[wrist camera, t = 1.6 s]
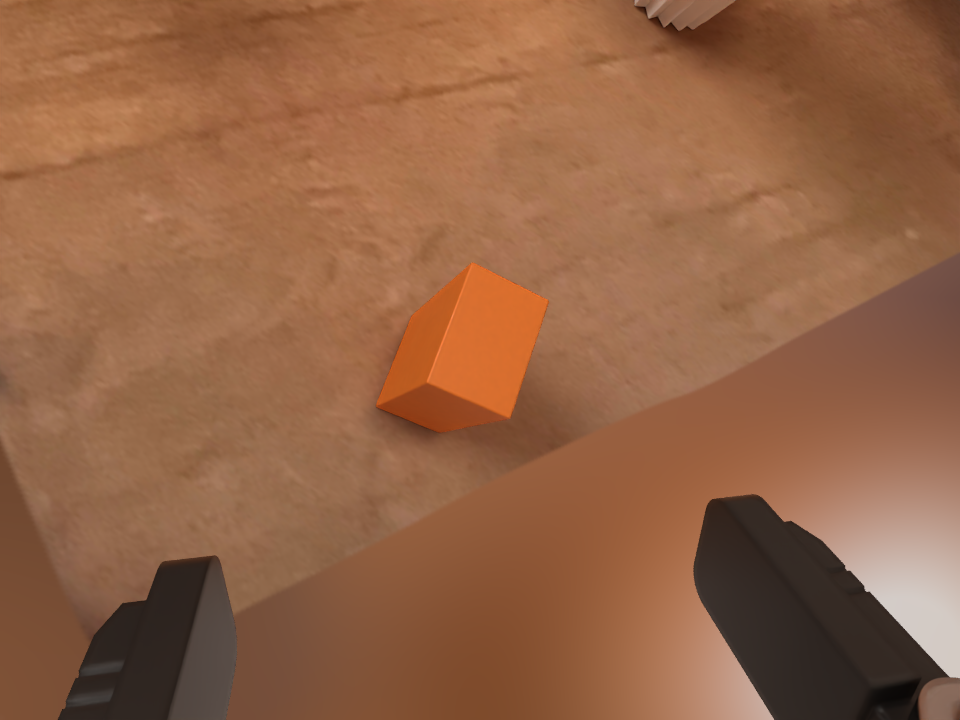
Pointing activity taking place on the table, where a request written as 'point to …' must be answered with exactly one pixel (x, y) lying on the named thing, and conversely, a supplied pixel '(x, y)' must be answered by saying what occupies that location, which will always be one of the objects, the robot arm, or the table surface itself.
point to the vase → (683, 11)
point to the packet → (465, 353)
